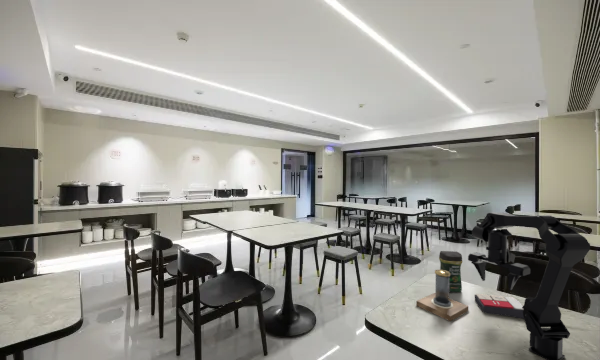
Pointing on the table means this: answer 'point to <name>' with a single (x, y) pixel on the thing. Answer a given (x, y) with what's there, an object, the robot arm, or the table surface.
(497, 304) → the red and white box
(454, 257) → the coffee jar
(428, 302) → the stand
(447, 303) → the housing
